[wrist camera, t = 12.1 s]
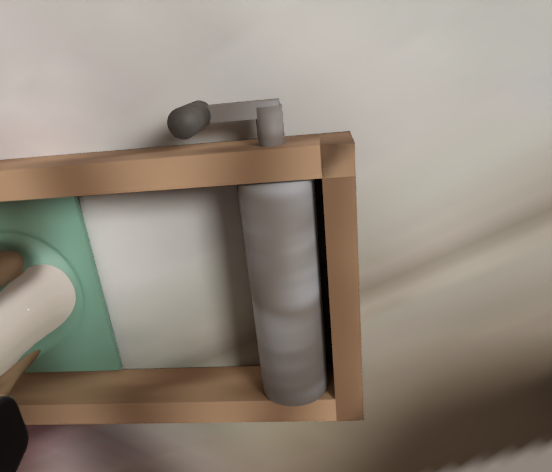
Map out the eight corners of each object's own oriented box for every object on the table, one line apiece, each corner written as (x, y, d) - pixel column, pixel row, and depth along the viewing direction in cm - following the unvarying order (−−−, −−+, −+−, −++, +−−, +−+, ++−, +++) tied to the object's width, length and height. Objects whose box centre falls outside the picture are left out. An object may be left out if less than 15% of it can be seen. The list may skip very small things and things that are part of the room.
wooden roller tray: (347, 83, 18) (355, 91, 14) (358, 383, 23) (366, 443, 19) (-119, 127, 20) (-212, 144, 16) (-13, 391, 25) (-66, 446, 22)
